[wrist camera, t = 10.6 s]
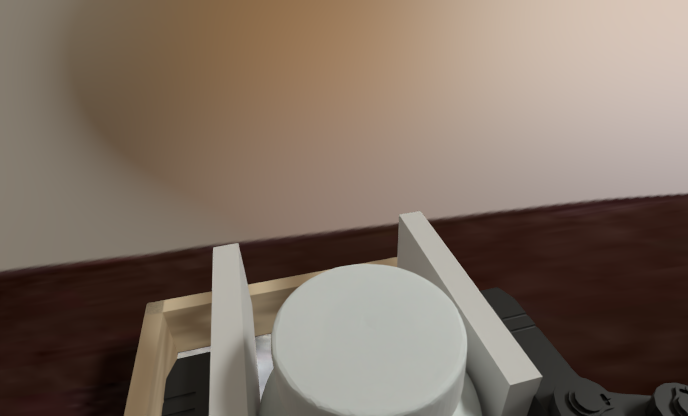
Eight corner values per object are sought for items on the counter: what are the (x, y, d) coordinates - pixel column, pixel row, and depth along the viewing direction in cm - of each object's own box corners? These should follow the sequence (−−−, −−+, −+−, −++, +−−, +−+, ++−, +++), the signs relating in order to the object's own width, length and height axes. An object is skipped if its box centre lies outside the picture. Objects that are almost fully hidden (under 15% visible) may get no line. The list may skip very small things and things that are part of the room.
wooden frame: (424, 290, 37) (429, 251, 34) (507, 431, 26) (522, 389, 24) (163, 343, 33) (147, 303, 30) (134, 538, 22) (106, 499, 20)
